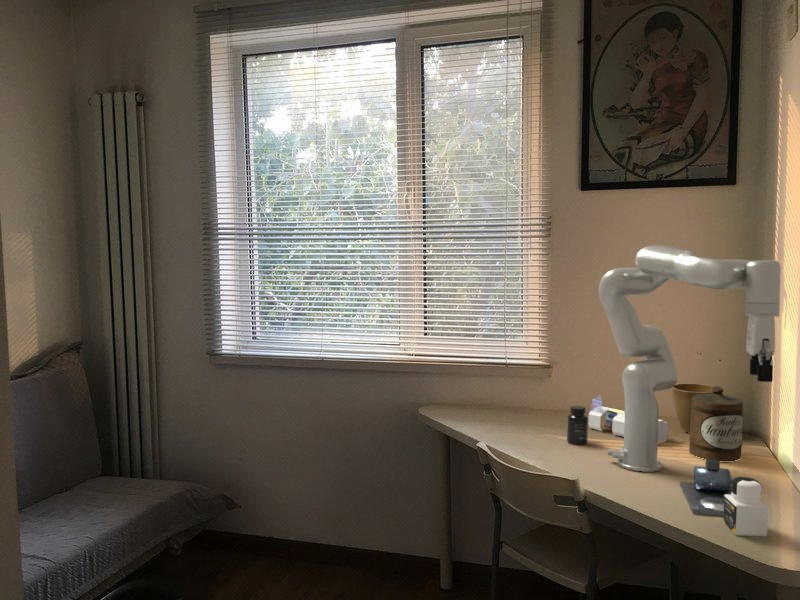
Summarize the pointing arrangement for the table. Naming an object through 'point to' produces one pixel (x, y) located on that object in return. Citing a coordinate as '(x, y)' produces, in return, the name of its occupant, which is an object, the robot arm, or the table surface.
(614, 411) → the diorama
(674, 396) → the plant pot
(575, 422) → the supplement bottle
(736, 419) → the wooden container
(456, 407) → the table surface
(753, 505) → the medicine bottle
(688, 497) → the motor base
